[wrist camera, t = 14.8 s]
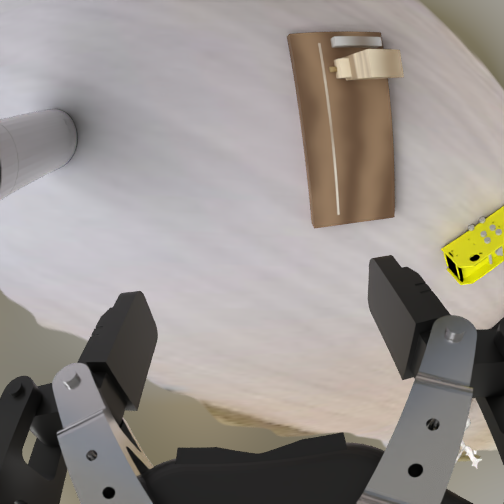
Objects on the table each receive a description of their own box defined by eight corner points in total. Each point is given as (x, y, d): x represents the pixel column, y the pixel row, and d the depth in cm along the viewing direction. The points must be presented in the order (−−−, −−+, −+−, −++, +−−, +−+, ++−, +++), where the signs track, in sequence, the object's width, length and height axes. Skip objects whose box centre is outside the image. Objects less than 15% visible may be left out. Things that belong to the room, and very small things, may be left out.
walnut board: (311, 222, 45) (317, 234, 42) (287, 36, 33) (291, 30, 30) (389, 212, 45) (400, 222, 41) (374, 34, 33) (386, 30, 29)
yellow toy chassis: (501, 201, 44) (530, 219, 36) (506, 226, 46) (532, 246, 38) (438, 244, 47) (463, 269, 40) (445, 268, 50) (468, 294, 42)
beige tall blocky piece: (330, 81, 34) (353, 77, 26) (326, 58, 33) (348, 49, 25) (380, 79, 34) (413, 77, 26) (377, 57, 33) (409, 50, 25)
